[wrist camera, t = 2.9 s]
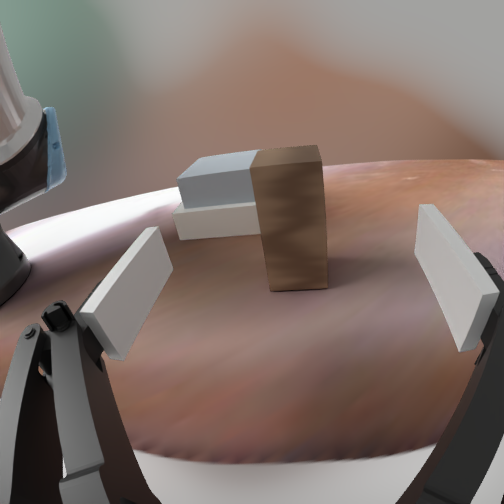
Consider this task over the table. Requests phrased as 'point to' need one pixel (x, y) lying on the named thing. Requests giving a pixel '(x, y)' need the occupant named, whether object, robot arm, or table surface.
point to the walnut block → (291, 216)
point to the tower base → (216, 221)
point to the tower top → (218, 180)
